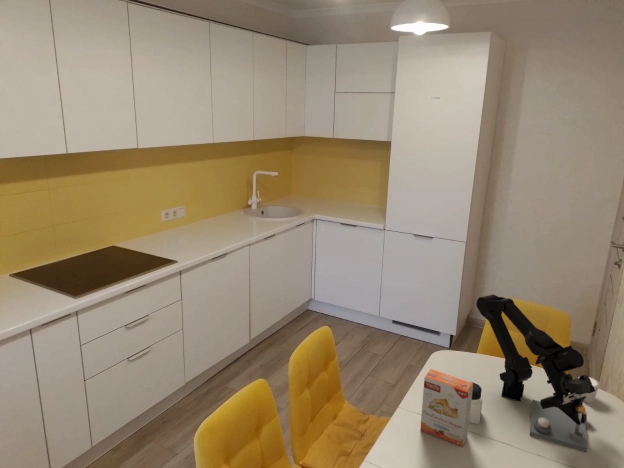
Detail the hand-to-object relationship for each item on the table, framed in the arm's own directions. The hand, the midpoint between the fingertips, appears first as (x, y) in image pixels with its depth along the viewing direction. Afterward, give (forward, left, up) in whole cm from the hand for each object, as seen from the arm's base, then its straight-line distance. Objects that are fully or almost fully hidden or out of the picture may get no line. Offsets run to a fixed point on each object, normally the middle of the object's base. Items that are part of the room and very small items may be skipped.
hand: (581, 423), depth 142 cm
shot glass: (+3, +27, -7) cm, 28 cm away
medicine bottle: (-33, -2, -7) cm, 34 cm away
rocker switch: (0, +12, -3) cm, 12 cm away
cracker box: (-39, -15, -7) cm, 42 cm away
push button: (-10, 0, -4) cm, 11 cm away
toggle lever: (-1, +1, -5) cm, 5 cm away
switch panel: (-6, +6, -7) cm, 11 cm away
